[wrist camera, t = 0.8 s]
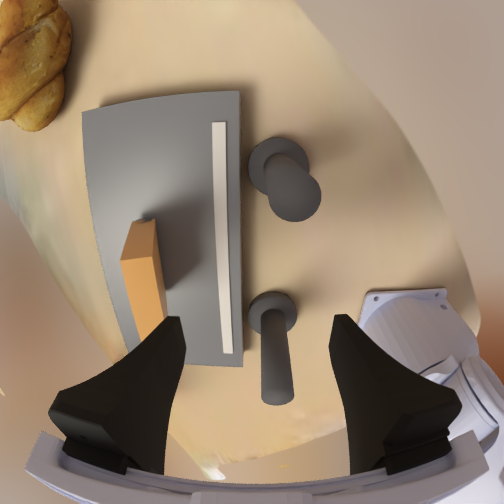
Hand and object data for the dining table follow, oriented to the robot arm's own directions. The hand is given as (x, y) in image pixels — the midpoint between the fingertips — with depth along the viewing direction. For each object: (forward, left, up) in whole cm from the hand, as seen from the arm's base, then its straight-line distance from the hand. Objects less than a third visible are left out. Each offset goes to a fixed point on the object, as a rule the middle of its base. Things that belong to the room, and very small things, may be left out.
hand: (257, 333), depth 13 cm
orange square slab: (+8, 0, -7) cm, 11 cm away
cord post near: (-1, -6, -9) cm, 11 cm away
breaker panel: (+7, 0, -9) cm, 11 cm away
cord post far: (-1, +6, -9) cm, 11 cm away
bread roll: (+19, -17, -10) cm, 27 cm away
